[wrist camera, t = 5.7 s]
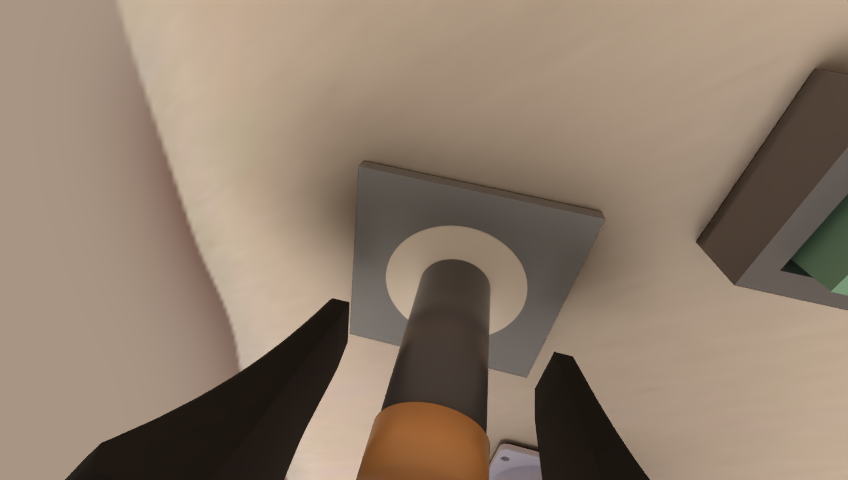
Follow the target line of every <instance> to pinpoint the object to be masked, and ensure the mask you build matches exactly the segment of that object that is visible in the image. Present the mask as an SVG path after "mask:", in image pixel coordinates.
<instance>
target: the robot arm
mask: <svg viewBox="0 0 848 480" xmlns="http://www.w3.org/2000/svg"><path fill="white" fill-rule="evenodd" d="M348 322H349V302H346V301H341V300H337V299H331V300H329V301H328V302H327V303H326V304H325V305H324V306H323V307H322V308H321V309H320V310H319V311H318V312H317V313H316V314H314V315H313V316H312V317H311V318H310V319H309V320H308V321H307V322H305V323H304V324H303V325H302V326H301V327H300V328H298V329H297V330H296V331H295V332H294V333H292V334H291V335H290V336H289V337H288V338H286V339H285V340H284V341H283V342H281V343H280V344H279V345H277V346H276V347H275V348H273V349H272V350H271V351H269V352H268V353H267V354H265V355H264V356H263V357H261V358H260V359H259V360H257V361H256V362H254V363H253V364H251V365H250V366H249V367H247V368H246V369H244V370H243V371H241V372H239V373H238V374H236V375H235V376H233V377H232V378H230V379H228V380H227V381H225V382H223V383H222V384H220V385H218V386H217V387H215V388H213V389H212V390H210V391H208V392H206V393H205V394H203V395H201V396H200V397H198V398H196V399H194V400H192V401H190V402H188V403H186V404H184V405H182V406H180V407H178V408H176V409H175V410H172V411H170V412H169V413H167V414H165V415H163V416H161V417H159V418H157V419H154V420H152V421H150V422H148V423H146V424H144V425H141V426H139V427H137V428H135V429H132V430H130V431H128V432H126V433H123V434H121V435H119V436H116V437H114V438H112V439H110V440H107V441H105V442H102V443H101V444H100V445H99V446H98V447H97V448H96V449H95V450H94V451H93V452H91V453H90V454H89V455H88V456H87V457H86V458H85V459H84V460H83V461H82V462H81V463H80V464H79V465H78V467H77V468H76V469H75V470H74V471H73V472H72V473H71V474H70V475H69V476H68V477H67V478H66V479H65V480H284V478H285V476H286V473H287V471H288V468H289V466H290V464H291V461H292V459H293V456H294V454H295V452H296V449H297V447H298V444H299V442H300V440H301V438H302V436H303V434H304V431H305V429H306V427H307V425H308V423H309V422H310V420H311V418H312V416H313V414H314V412H315V410H316V408H317V406H318V404H319V403H320V401H321V399H322V397H323V395H324V393H325V391H326V389H327V387H328V385H329V383H330V382H331V380H332V378H333V376H334V374H335V372H336V370H337V368H338V365H339V363H340V360H341V358H342V355H343V352H344V350H345V347H346V345H347V342H348ZM535 424H536V433H537V441H538V450H539V452H537V451H534V450H530V449H526V448H522V447H518V446H515V445H511V444H502V445H500V446H499V448H498V450H497V452H496V454H495V456H494V457H493V459H492V461H491V463H490V469H489V480H650V479H649V478H648V477H647V475H646V474H645V473H644V471H643V470H642V469H641V467H640V466H639V464H638V463H637V462H636V460H635V459H634V457H633V456H632V454H631V453H630V451H629V450H628V448H627V447H626V445H625V444H624V442H623V441H622V439H621V438H620V436H619V435H618V433H617V432H616V430H615V428H614V427H613V425H612V424H611V422H610V420H609V419H608V417H607V415H606V414H605V412H604V410H603V409H602V407H601V405H600V404H599V402H598V400H597V399H596V397H595V395H594V393H593V392H592V390H591V388H590V386H589V385H588V383H587V381H586V379H585V377H584V376H583V374H582V372H581V370H580V368H579V367H578V365H577V363H576V361H575V360H574V358H573V356H569V355H564V354H560V353H556V352H554V354H553V356H552V358H551V360H550V361H549V363H548V365H547V367H546V369H545V371H544V373H543V375H542V377H541V378H540V380H539V382H538V384H537V386H536V388H535Z"/></svg>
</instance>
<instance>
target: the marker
mask: <svg viewBox="0 0 848 480" xmlns="http://www.w3.org/2000/svg"><path fill="white" fill-rule="evenodd" d="M489 325H490V283H489V280H488V278H487V277H486V275H485V274H484V273H483V271H482V270H480V269H479V268H478V267H477V266H475V265H473V264H471V263H469V262H467V261H463V260H458V259H446V260H441V261H438V262H435V263H433V264H432V265H430V266H429V267H428V268H427V269H426V270H425V271H424V272H423V274H422V276H421V279H420V283H419V286H418V289H417V293H416V296H415V299H414V303H413V306H412V309H411V313H410V316H409V319H408V323H407V326H406V329H405V333H404V336H403V339H402V343H401V346H400V349H399V353H398V356H397V359H396V363H395V366H394V369H393V373H392V376H391V379H390V383H389V386H388V389H387V393H386V396H385V399H384V403H383V406H382V409H381V412H380V413H379V414H378V415H377V416H376V418H375V420H374V423H373V426H372V430H371V433H370V436H369V439H368V443H367V446H366V449H365V452H364V456H363V459H362V462H361V465H360V469H359V472H358V475H357V478H356V480H489V469H490V443H489V439H488V436H487V435H486V431H487V395H488V360H489Z"/></svg>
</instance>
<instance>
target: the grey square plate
mask: <svg viewBox="0 0 848 480" xmlns="http://www.w3.org/2000/svg"><path fill="white" fill-rule="evenodd" d="M604 221H605V218H604V216H603V214H602V212H601V211H596V210H592V209H587V208H582V207H578V206H573V205H568V204H564V203H559V202H554V201H550V200H545V199H540V198H535V197H531V196H526V195H521V194H517V193H512V192H507V191H503V190H498V189H493V188H489V187H484V186H479V185H474V184H470V183H465V182H460V181H456V180H451V179H446V178H442V177H437V176H432V175H428V174H423V173H418V172H414V171H409V170H404V169H399V168H395V167H390V166H385V165H381V164H376V163H371V162H367V161H363V162H362V163H361V164H360V165H359V166H358V185H357V204H356V223H355V243H354V262H353V281H352V300H351V319H350V334H353V335H357V336H361V337H365V338H369V339H373V340H377V341H381V342H385V343H389V344H393V345H397V346H401V343H402V339H403V336H404V333H405V329H406V326H407V323H408V319H409V316H410V313H411V309H412V306H413V303H414V299H415V296H416V293H417V289H418V286H419V283H420V279H421V276H422V274H423V272H424V271H425V270H426V269H427V268H428V267H429V266H430V265H432V264H433V263H435V262H438V261H441V260H446V259H458V260H463V261H467V262H469V263H471V264H473V265H475V266H477V267H478V268H479V269H480V270H482V271H483V273H484V274H485V275H486V277H487V278H488V280H489V283H490V325H489V360H488V368H490V369H494V370H498V371H502V372H506V373H510V374H514V375H518V376H522V377H526V378H527V376H528V374H529V372H530V370H531V368H532V366H533V364H534V362H535V360H536V358H537V356H538V354H539V352H540V350H541V348H542V346H543V344H544V342H545V340H546V338H547V336H548V334H549V332H550V330H551V328H552V326H553V324H554V322H555V320H556V318H557V316H558V314H559V312H560V310H561V308H562V306H563V304H564V302H565V300H566V297H567V295H568V293H569V291H570V289H571V287H572V285H573V283H574V281H575V279H576V277H577V275H578V273H579V271H580V269H581V267H582V265H583V263H584V261H585V259H586V257H587V255H588V253H589V251H590V249H591V247H592V245H593V243H594V241H595V239H596V237H597V235H598V233H599V231H600V229H601V227H602V225H603V223H604Z"/></svg>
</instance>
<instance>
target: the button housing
mask: <svg viewBox="0 0 848 480" xmlns="http://www.w3.org/2000/svg"><path fill="white" fill-rule="evenodd" d="M847 194H848V74H845V73H838V72H832V71H825V70H819V69H815V70H814V71H813V73H812V74H811V76H810V77H809V78H808V80H807V81H806V83H805V84H804V86H803V87H802V89H801V90H800V92H799V93H798V94H797V96H796V97H795V99H794V100H793V102H792V103H791V105H790V106H789V108H788V109H787V111H786V112H785V113H784V115H783V116H782V118H781V119H780V121H779V122H778V124H777V125H776V127H775V128H774V130H773V131H772V132H771V134H770V135H769V137H768V138H767V140H766V141H765V143H764V144H763V146H762V147H761V148H760V150H759V151H758V153H757V154H756V156H755V157H754V159H753V160H752V162H751V163H750V165H749V166H748V167H747V169H746V170H745V172H744V173H743V175H742V176H741V178H740V179H739V181H738V182H737V184H736V185H735V186H734V188H733V189H732V191H731V192H730V194H729V195H728V197H727V198H726V200H725V201H724V203H723V204H722V205H721V207H720V208H719V210H718V211H717V213H716V214H715V216H714V217H713V219H712V220H711V221H710V223H709V224H708V226H707V227H706V229H705V230H704V232H703V233H702V235H701V236H700V238H699V239H698V240H697V242H696V243H697V244H698V245H699V246H700V247H701V248H702V249H703V251H704V252H705V253H706V254H707V255H708V256H709V257H710V258H711V260H712V261H713V262H714V263H715V264H716V265H717V266H718V267H719V269H720V270H721V271H722V272H723V273H724V274H725V275H726V276H727V278H728V279H729V280H730V281H731V282H732V283H733V284H734V285H736V286H740V287H745V288H749V289H754V290H758V291H763V292H767V293H772V294H776V295H781V296H785V297H790V298H794V299H799V300H803V301H808V302H812V303H817V304H821V305H826V306H830V307H835V308H839V309H844V310H848V295H843V294H839V293H834V292H830V291H829V290H828V289H827V288H826V287H824V286H823V285H822V284H821V283H819V282H818V281H817V280H816V279H815V278H813V277H812V276H811V275H810V274H808V273H807V272H806V271H805V270H804V269H802V268H801V267H800V266H799V265H797V264H796V263H795V262H794V261H793V260H791V257H792V256H793V255H794V254H795V253H796V252H797V251H798V250H799V248H800V247H801V246H802V245H803V244H804V243H805V242H806V241H807V239H808V238H809V237H810V236H811V235H812V234H813V233H814V232H815V230H816V229H817V228H818V227H819V226H820V225H821V224H822V222H823V221H824V220H825V219H826V218H827V217H828V216H829V215H830V213H831V212H832V211H833V210H834V209H835V208H836V207H837V206H838V204H839V203H840V202H841V201H842V200H843V199H844V198H845V197H846V195H847Z"/></svg>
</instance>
